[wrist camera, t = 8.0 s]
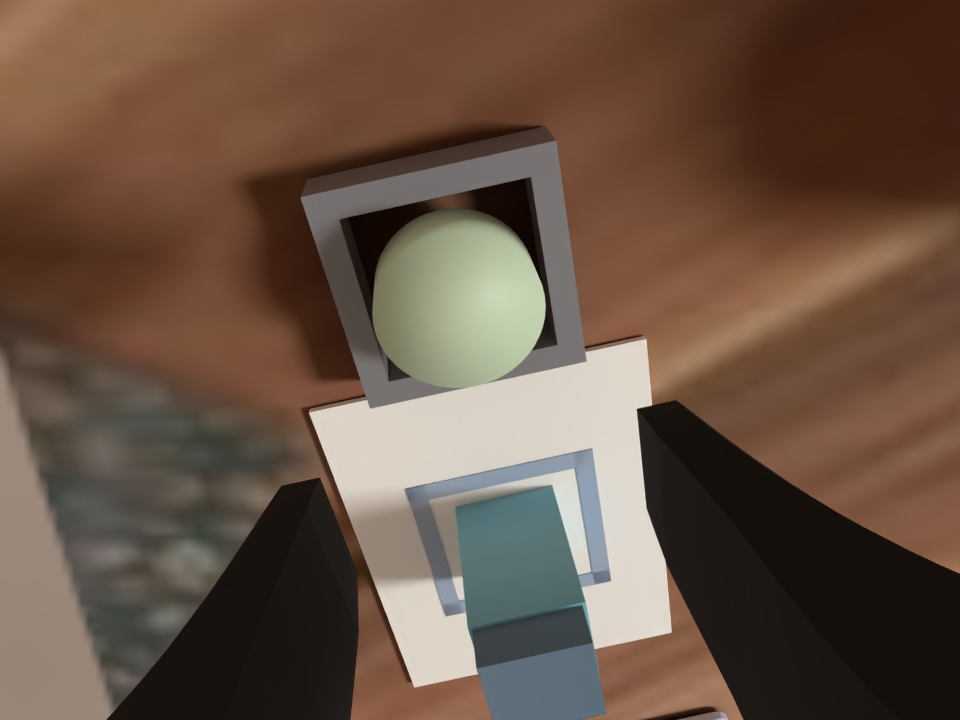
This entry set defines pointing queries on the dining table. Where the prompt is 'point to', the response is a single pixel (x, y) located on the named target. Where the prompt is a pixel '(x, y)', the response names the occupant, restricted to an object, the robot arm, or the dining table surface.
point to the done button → (457, 299)
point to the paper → (498, 472)
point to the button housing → (434, 178)
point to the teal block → (527, 610)
